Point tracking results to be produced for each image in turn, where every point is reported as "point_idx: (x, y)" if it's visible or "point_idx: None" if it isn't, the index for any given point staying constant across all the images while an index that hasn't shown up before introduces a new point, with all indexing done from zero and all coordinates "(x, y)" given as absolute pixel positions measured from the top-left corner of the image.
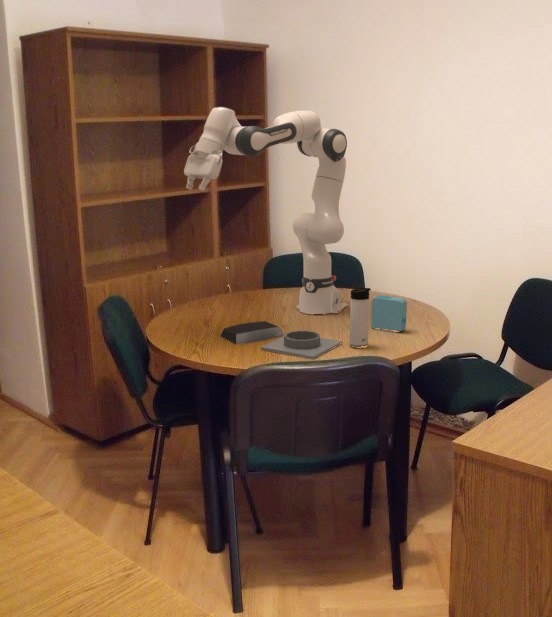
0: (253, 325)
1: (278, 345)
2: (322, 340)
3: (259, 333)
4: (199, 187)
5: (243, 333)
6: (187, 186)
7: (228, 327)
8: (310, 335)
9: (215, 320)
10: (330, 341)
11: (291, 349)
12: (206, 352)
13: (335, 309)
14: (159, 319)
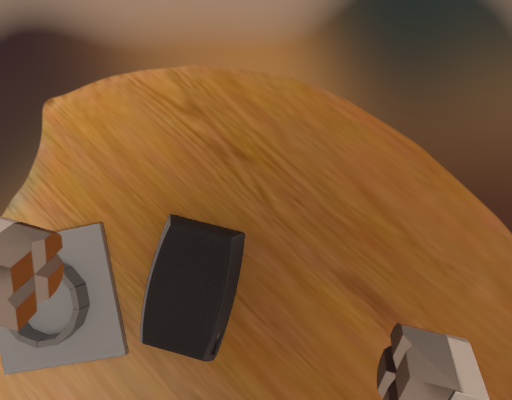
0: (192, 305)
1: (79, 257)
2: (37, 350)
3: (148, 276)
4: (16, 226)
5: (161, 238)
6: (428, 337)
7: (227, 251)
8: (49, 338)
9: (373, 333)
10: (20, 356)
11: None
12: (174, 126)
13: None
14: (505, 236)
